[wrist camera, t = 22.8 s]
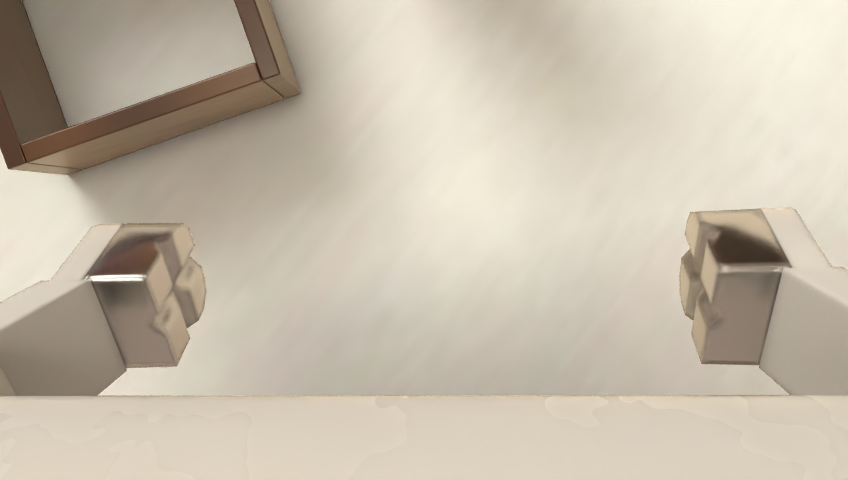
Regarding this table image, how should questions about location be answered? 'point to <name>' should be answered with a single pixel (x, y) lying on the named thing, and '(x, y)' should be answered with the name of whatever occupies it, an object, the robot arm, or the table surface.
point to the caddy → (134, 125)
